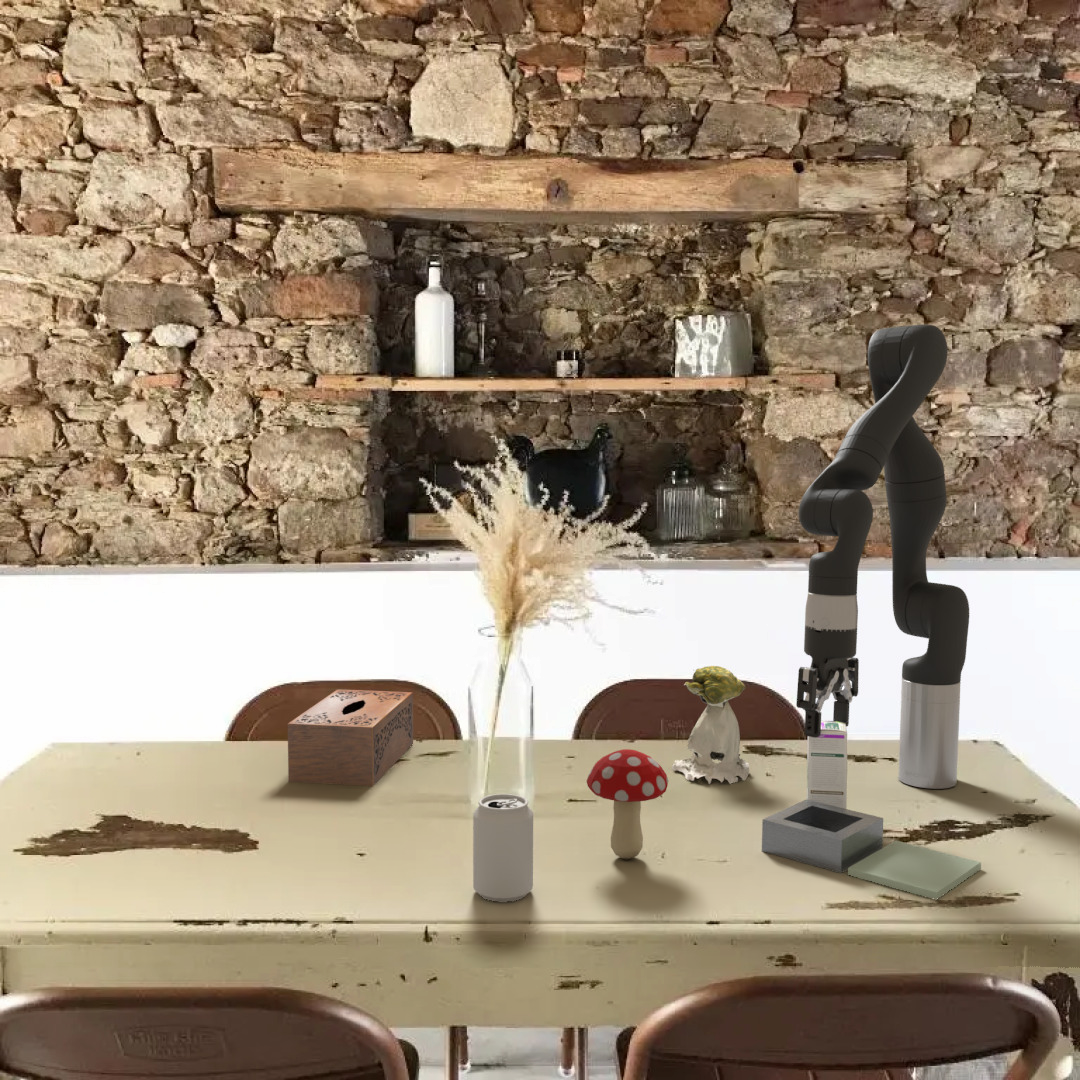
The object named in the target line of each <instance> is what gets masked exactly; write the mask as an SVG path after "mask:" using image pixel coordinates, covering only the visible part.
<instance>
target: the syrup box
mask: <svg viewBox="0 0 1080 1080" xmlns="http://www.w3.org/2000/svg"><path fill="white" fill-rule="evenodd" d="M806 750H807V758H806V765H807V766H806V768H807V769H806V800H811V801H815V802H819V803H823V804H827V805H831V806H836V807H840V808H844V809H848V808H847V807H848V806H847V802H848V801H847V799H848V797H847V795H848V730H847V727H846V723H844V722H838V721H833V720H821V735H820V736H819V737H816V738H815V737H810V736H807V749H806Z"/></svg>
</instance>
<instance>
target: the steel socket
mask: <svg viewBox="0 0 1080 1080" xmlns="http://www.w3.org/2000/svg"><path fill="white" fill-rule="evenodd" d="M761 827H762V828H761V831H762V832H761V852H764V853H768V854H771V855H774V856H775V855H776V856H779V857H782V858H785V859H789V860H792V861H796V862H800V863H803V864H807V865H811V866H814V867H817V866H818V867H817V868H820V867H822V869H824V868H827V869H829V870H828V871H831V870H833V871H832V872H835V871H836V872H835V873H838V872H840V873H839V874H843V873H844V872H845V870H846V871H848V868H849V867H850V866H852V865H854V864H856V863H857V862H859V861H861V860H863V859H864V858H866V857H868V856H870V855H871V854H873V853H875V852H877V851H878V850H880V849H882V848H883V843H884V817H880V816H876V815H872V814H869V813H864V812H860V811H856V810H851V809H848V808H847V809H844V808H840V807H836V806H831V805H827V804H823V803H819V802H815V801H811V800H807V799H804V800H802V801H800V802H797V803H795V804H793V805H791V806H789V807H787V808H784V809H782V810H780V811H778V812H775V813H773V814H771V815H769V816H767V817H764V818H762V824H761ZM827 869H826V870H827ZM843 871H844V872H843Z"/></svg>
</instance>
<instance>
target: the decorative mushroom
mask: <svg viewBox="0 0 1080 1080" xmlns="http://www.w3.org/2000/svg"><path fill="white" fill-rule="evenodd" d="M586 784H587V788H589V790H591V792H592V793H593V794H594V795H595V796H597V797H600V798H602V799H605V800H611V801H613V806H612V807H613V824H612V829H611V834H610V848H611V850H612V851H613V853H614V854H615V856H617V857H619V858H621V859H622V860H631V859H633V858H635V857H638V856H639V854H640V853H641V852H642V850H643V846H644V845H643V844H644V840H643V839H644V837H643V836H644V835H643V831H642V825H641V809H642V804H641V803H642V802H646V801H652V800H654V799H657V798H659V797H660V796H662V795H664V794H665V793H666V791H667V789H668V785H669V778H668V776H667V774H666V772H665V770H664V769H663V767H662V766H661V764H659V763H658V762H657V761H656V760H655V759H654V758H652V757H651V756H650V755H647V754H646V753H643V752H642V751H638V750H635V749H631V748H629V749H627V748H626V749H625V748H623V749H620V750H615V751H613V752H611V753H608V754H606V755H605V756H602V757H601V758H600V759H599V760H597V761H596V762H595V764H594V765H593V767H592V768H591V769H590V771H589V774H588V775H587V779H586Z"/></svg>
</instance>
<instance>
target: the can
mask: <svg viewBox="0 0 1080 1080" xmlns="http://www.w3.org/2000/svg"><path fill="white" fill-rule="evenodd" d="M528 804H529V801H528V799H527V798H526V797H523V796H522V795H518V794H511V793H496V794H495V793H494V794H490V795H485V796H483V797H482V798H480V799H479V800H478V805H479V806H478V807H476V808H475V810H474V811H473V813H472V814H473V815H472V817H473V818H472V820H473V822H472V824H473V825H472V828H473V829H472V830H473V832H472V833H473V836H472V838H473V839H472V840H473V841H472V842H473V843H472V849H473V850H472V851H473V854H472V857H473V859H472V863H473V865H472V866H473V867H472V869H473V870H472V872H473V873H472V874H473V875H472V877H473V879H472V883H473V884H472V886H473V890H474V891H475V892H476V893H477V894H479V895H480V897H481V896H482V897H483V898H482V897H481V898H482V899H484V900H486V899H488V900H487V901H489V900H492V901H491V902H493V901H499V902H498V903H508V902H507V901H512V902H516V900H517V901H520V900H522V899H524V898H525V897H526V896H527V894H529V893H530V892H531V891H532V890H533V886H534V812H533V810H532V808H530V807H529V806H528ZM523 897H524V898H523ZM521 898H522V899H521ZM519 899H520V900H519ZM514 900H515V901H514Z"/></svg>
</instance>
